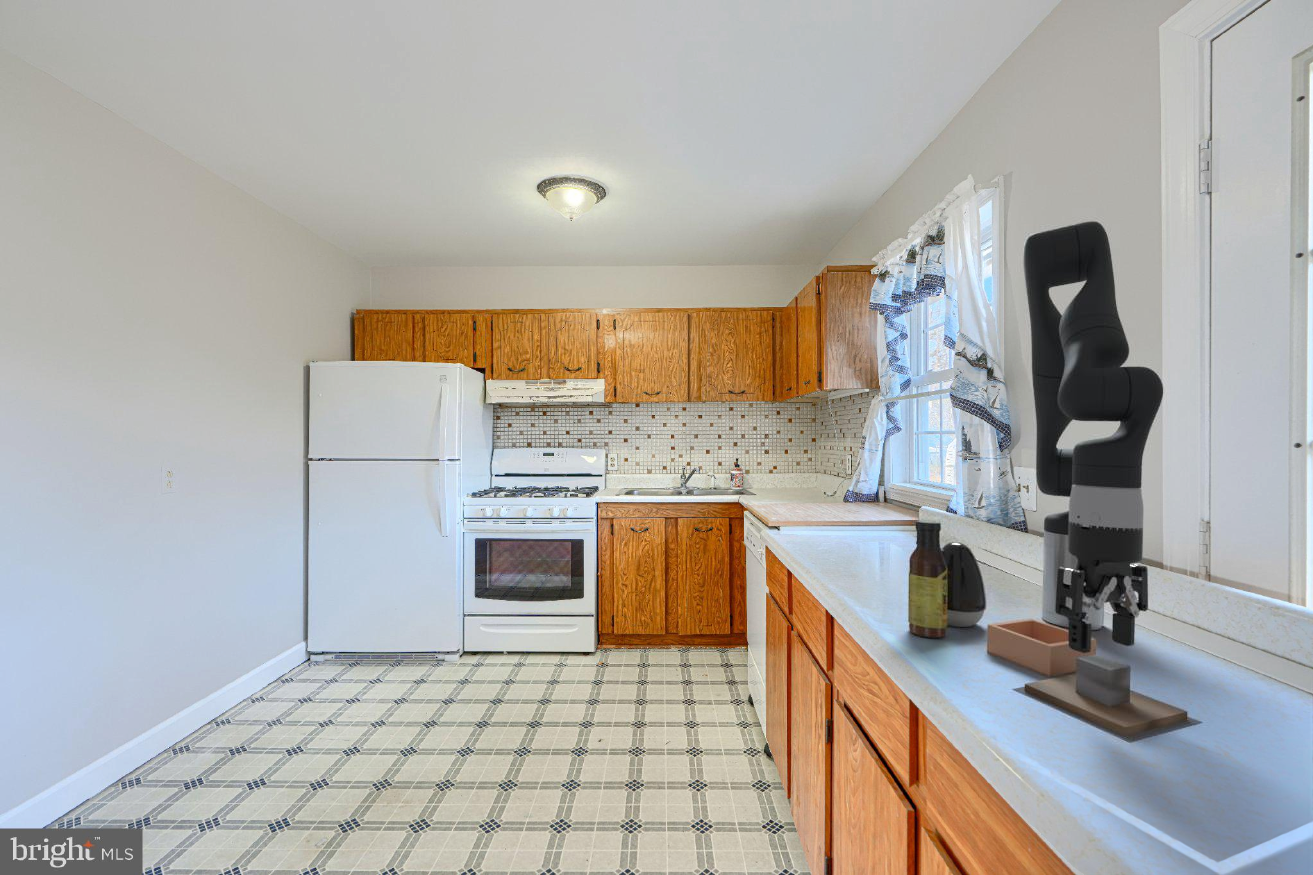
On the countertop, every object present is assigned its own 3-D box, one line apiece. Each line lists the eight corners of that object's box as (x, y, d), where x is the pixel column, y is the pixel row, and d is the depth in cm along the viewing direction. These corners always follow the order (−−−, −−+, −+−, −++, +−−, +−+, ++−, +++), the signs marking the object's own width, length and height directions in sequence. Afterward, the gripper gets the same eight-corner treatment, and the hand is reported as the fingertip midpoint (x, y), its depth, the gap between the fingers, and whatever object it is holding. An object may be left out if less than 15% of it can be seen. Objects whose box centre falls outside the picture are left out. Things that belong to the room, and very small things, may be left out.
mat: (1080, 679, 82) (1080, 675, 82) (1202, 726, 69) (1202, 722, 69) (1012, 693, 77) (1012, 688, 77) (1129, 747, 64) (1129, 741, 64)
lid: (1083, 679, 80) (1084, 640, 80) (1187, 719, 69) (1188, 674, 69) (1024, 691, 76) (1025, 650, 76) (1125, 736, 65) (1126, 688, 65)
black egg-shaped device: (916, 612, 112) (918, 536, 112) (972, 615, 111) (974, 538, 111) (934, 629, 102) (936, 546, 102) (996, 633, 101) (998, 548, 101)
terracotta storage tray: (1030, 648, 94) (1030, 618, 94) (1095, 672, 84) (1096, 639, 84) (986, 655, 90) (987, 624, 90) (1049, 681, 81) (1050, 646, 81)
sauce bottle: (951, 641, 96) (954, 525, 96) (912, 637, 97) (915, 523, 97) (940, 628, 103) (942, 519, 103) (903, 625, 104) (906, 518, 104)
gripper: (1108, 516, 79) (1105, 632, 78) (1037, 518, 74) (1034, 642, 73) (1173, 524, 72) (1170, 652, 71) (1100, 527, 67) (1096, 664, 66)
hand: (1101, 647), depth 72 cm, fingers open, 8 cm apart
